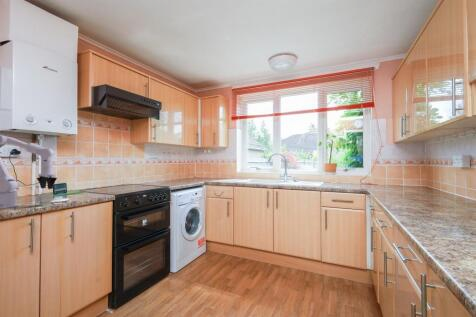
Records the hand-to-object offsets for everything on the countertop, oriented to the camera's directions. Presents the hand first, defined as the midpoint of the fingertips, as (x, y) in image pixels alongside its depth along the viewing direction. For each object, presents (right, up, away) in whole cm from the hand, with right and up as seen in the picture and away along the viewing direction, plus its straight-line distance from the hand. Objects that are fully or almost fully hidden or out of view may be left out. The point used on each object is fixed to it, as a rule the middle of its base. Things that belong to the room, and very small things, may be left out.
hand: (46, 188), depth 142 cm
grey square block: (+1, -7, -3) cm, 8 cm away
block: (+1, -10, -3) cm, 10 cm away
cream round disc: (-1, -10, +9) cm, 13 cm away
